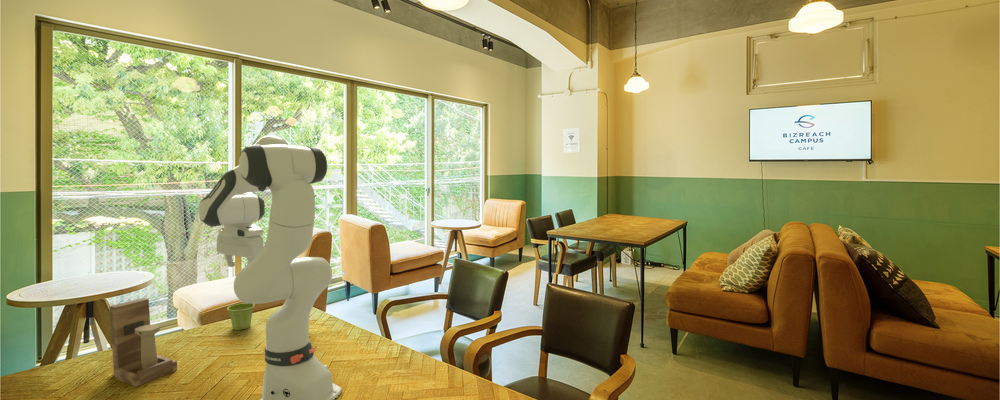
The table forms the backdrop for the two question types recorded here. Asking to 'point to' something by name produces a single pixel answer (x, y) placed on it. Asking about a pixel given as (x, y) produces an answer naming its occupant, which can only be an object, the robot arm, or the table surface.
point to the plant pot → (241, 315)
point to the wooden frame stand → (133, 344)
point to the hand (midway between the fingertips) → (240, 268)
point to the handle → (148, 344)
